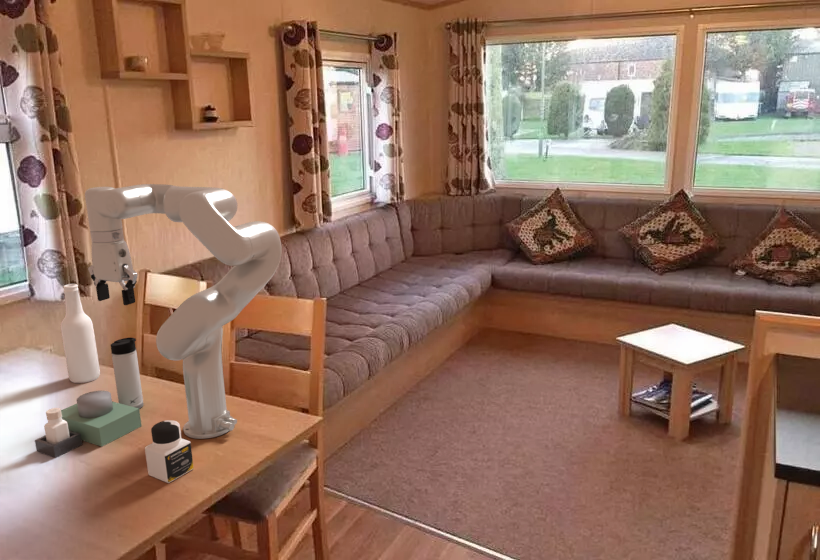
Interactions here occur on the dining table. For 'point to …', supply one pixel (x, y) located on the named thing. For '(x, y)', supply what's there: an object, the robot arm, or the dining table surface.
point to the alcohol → (78, 339)
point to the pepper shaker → (56, 426)
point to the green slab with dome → (101, 418)
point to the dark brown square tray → (58, 445)
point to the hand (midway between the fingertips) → (116, 301)
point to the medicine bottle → (168, 452)
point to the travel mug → (127, 372)
